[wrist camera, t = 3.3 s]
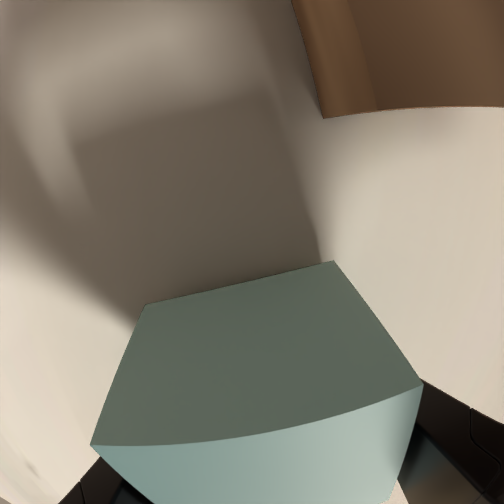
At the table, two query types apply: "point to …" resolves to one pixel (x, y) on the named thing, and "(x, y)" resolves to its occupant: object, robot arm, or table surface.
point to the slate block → (261, 396)
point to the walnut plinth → (403, 53)
